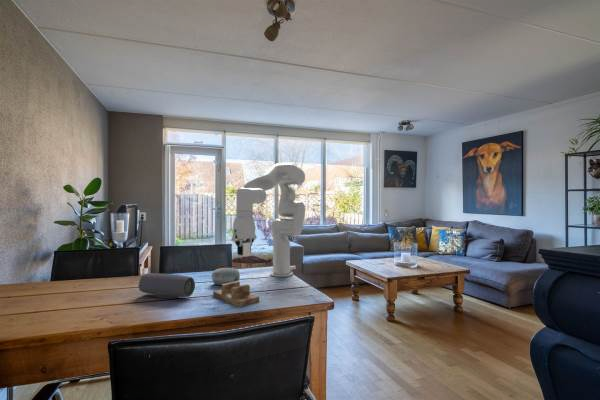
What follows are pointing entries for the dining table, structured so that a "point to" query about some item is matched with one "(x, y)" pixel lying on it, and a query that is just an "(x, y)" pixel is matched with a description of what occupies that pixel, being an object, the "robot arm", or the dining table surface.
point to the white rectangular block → (246, 248)
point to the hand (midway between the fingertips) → (244, 253)
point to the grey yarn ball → (225, 275)
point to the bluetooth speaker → (167, 285)
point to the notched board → (236, 294)
